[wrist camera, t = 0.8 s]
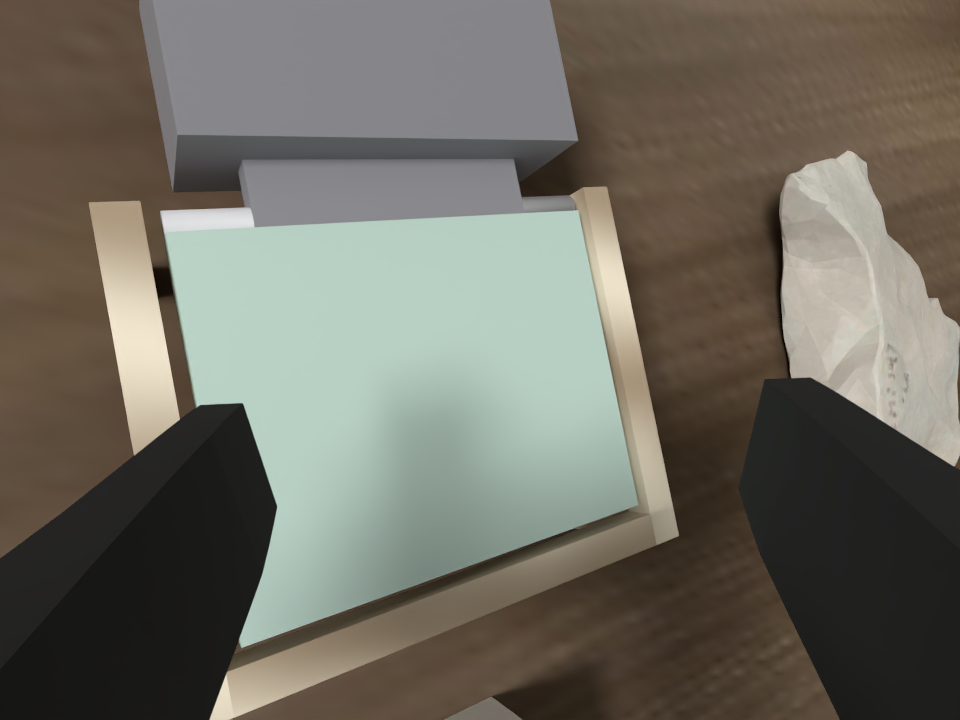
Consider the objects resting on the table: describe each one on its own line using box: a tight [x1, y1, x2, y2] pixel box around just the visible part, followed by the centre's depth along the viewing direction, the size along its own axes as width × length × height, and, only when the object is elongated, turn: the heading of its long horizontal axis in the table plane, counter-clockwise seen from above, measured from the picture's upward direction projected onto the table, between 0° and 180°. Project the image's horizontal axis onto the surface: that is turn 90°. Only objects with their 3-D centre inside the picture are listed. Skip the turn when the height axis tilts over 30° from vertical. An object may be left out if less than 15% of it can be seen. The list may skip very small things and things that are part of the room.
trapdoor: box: [139, 0, 638, 648], centre depth 18 cm, size 16×12×4 cm
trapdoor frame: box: [89, 187, 679, 720], centre depth 20 cm, size 12×15×6 cm
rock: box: [779, 151, 960, 466], centre depth 34 cm, size 21×5×15 cm
